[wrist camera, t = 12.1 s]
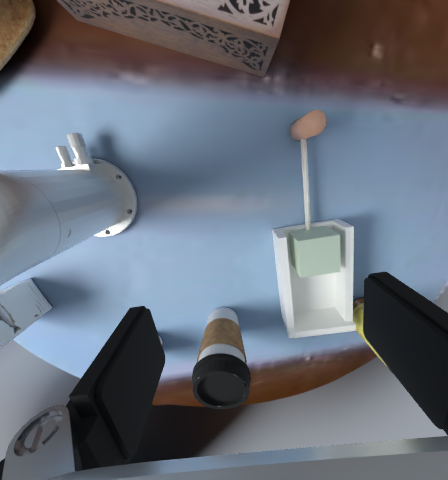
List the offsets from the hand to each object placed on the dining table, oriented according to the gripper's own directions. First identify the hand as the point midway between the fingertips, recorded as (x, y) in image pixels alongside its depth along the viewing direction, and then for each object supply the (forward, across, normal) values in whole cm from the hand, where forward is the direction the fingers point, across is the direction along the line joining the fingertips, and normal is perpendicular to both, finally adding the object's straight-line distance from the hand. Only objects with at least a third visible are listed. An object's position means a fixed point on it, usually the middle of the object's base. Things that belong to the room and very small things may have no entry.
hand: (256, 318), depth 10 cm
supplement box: (+28, +43, +11) cm, 53 cm away
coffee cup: (+28, +6, +22) cm, 36 cm away
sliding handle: (+28, -11, 0) cm, 30 cm away
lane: (+28, -11, +14) cm, 33 cm away
